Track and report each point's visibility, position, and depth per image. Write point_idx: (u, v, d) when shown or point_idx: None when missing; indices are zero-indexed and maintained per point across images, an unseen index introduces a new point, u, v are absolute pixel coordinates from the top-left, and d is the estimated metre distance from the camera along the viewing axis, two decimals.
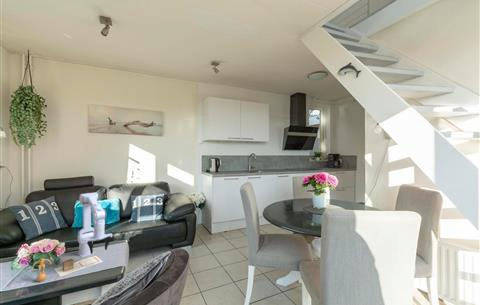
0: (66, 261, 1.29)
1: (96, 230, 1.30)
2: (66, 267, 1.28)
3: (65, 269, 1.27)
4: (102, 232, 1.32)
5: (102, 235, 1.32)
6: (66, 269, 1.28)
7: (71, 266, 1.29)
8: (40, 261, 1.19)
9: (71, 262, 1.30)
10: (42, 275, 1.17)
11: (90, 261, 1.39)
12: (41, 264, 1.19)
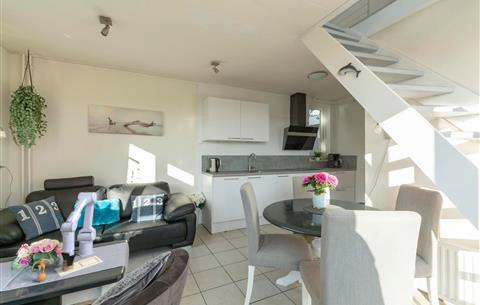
0: (66, 261, 1.29)
1: None
2: (66, 267, 1.28)
3: (65, 269, 1.27)
4: (63, 245, 1.27)
5: (63, 249, 1.27)
6: (66, 269, 1.28)
7: (71, 266, 1.29)
8: (40, 261, 1.19)
9: None
10: (42, 275, 1.17)
11: (90, 261, 1.39)
12: (41, 264, 1.19)
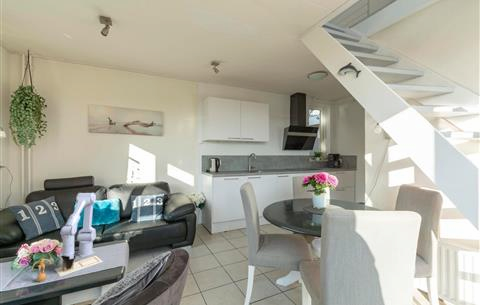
0: None
1: (62, 245, 1.28)
2: None
3: (65, 269, 1.27)
4: (63, 249, 1.27)
5: (63, 252, 1.27)
6: (66, 269, 1.28)
7: None
8: (40, 261, 1.19)
9: None
10: (42, 275, 1.17)
11: (90, 261, 1.39)
12: (41, 264, 1.19)
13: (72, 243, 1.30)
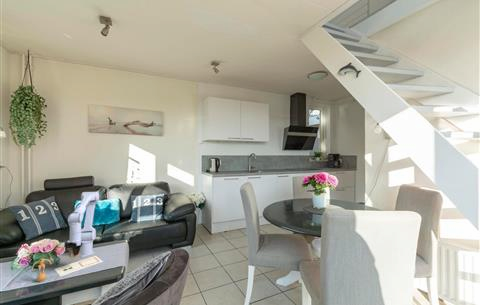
0: None
1: (70, 232, 1.30)
2: (73, 254, 1.30)
3: (72, 256, 1.30)
4: (71, 236, 1.30)
5: (71, 239, 1.30)
6: (73, 256, 1.30)
7: None
8: (40, 261, 1.19)
9: None
10: (42, 275, 1.17)
11: (90, 261, 1.39)
12: (41, 264, 1.19)
13: (79, 230, 1.33)
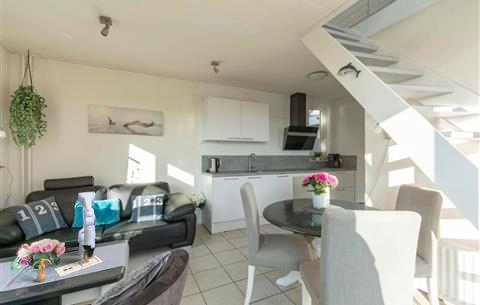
0: None
1: (85, 236, 1.36)
2: (87, 256, 1.36)
3: (86, 258, 1.36)
4: (85, 238, 1.36)
5: (85, 241, 1.36)
6: (87, 258, 1.36)
7: None
8: (40, 261, 1.19)
9: None
10: (42, 275, 1.17)
11: (90, 261, 1.39)
12: (41, 264, 1.19)
13: (94, 232, 1.40)
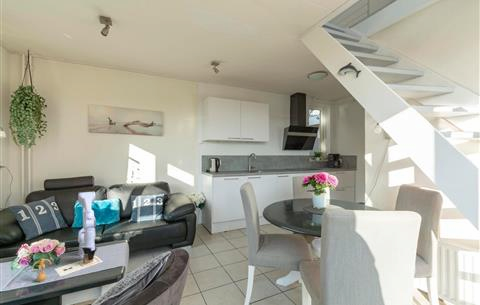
0: (87, 255, 1.38)
1: (85, 238, 1.36)
2: (87, 261, 1.36)
3: (86, 262, 1.36)
4: (85, 241, 1.36)
5: (85, 244, 1.36)
6: (87, 262, 1.36)
7: None
8: (40, 261, 1.19)
9: None
10: (42, 275, 1.17)
11: None
12: (41, 264, 1.19)
13: (94, 235, 1.40)
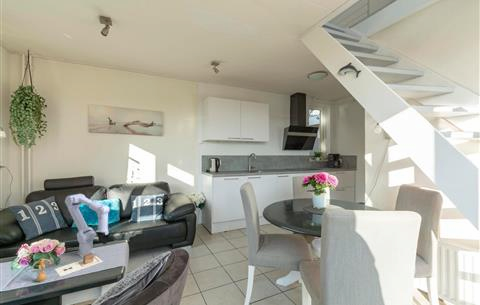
0: (87, 255, 1.38)
1: (103, 223, 1.45)
2: (87, 261, 1.36)
3: (86, 262, 1.36)
4: (99, 226, 1.45)
5: (99, 229, 1.45)
6: (87, 262, 1.36)
7: (91, 259, 1.38)
8: (40, 261, 1.19)
9: (91, 256, 1.38)
10: (42, 275, 1.17)
11: None
12: (41, 264, 1.19)
13: None
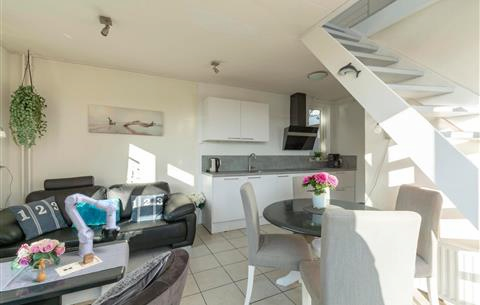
0: (87, 255, 1.38)
1: (113, 220, 1.52)
2: (87, 261, 1.36)
3: (86, 262, 1.36)
4: (109, 223, 1.51)
5: (109, 226, 1.51)
6: (87, 262, 1.36)
7: (91, 259, 1.38)
8: (40, 261, 1.19)
9: (91, 256, 1.38)
10: (42, 275, 1.17)
11: None
12: (41, 264, 1.19)
13: None
